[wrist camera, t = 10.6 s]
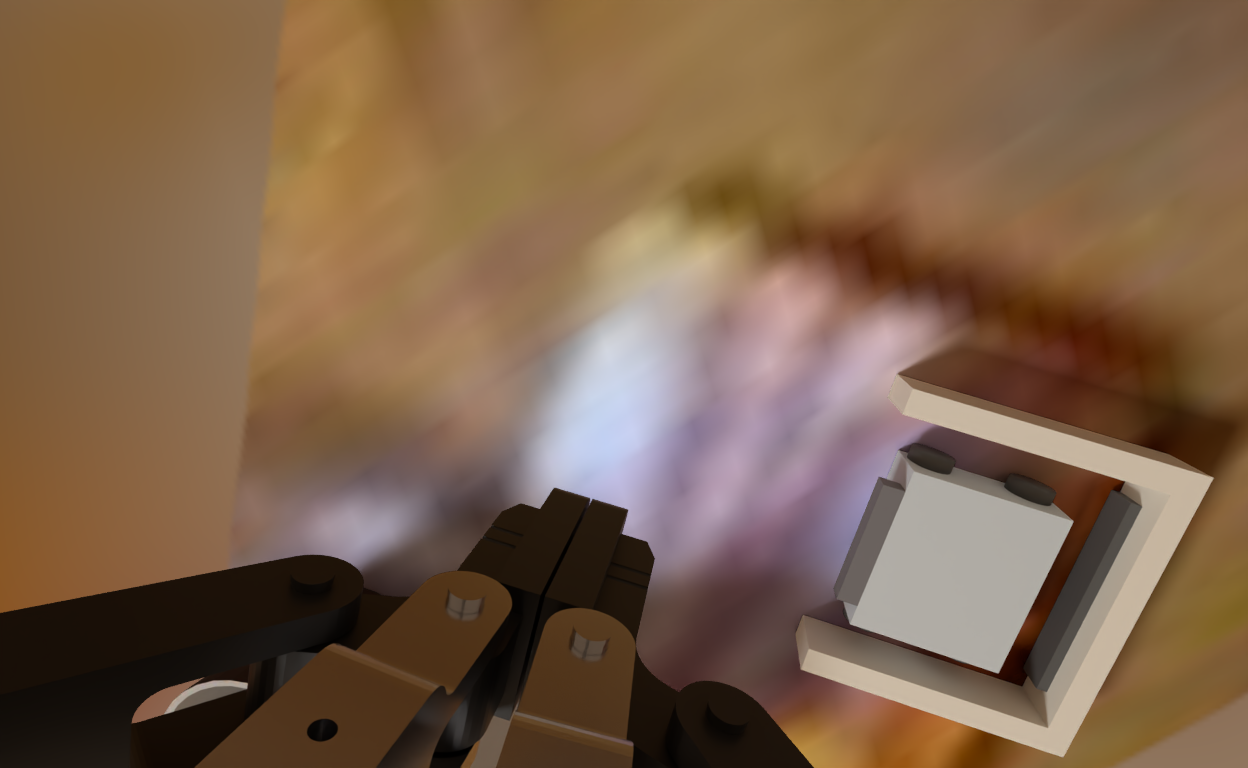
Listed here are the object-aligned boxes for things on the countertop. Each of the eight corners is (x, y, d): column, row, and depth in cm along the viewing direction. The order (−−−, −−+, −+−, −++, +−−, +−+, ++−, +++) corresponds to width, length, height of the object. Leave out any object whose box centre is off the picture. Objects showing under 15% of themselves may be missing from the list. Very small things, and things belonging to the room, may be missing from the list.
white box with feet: (882, 432, 33) (896, 452, 30) (1049, 483, 33) (1080, 509, 30) (817, 595, 36) (824, 627, 33) (971, 646, 35) (993, 683, 32)
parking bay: (897, 373, 33) (912, 388, 30) (1169, 454, 31) (1213, 477, 29) (795, 634, 36) (800, 669, 33) (1036, 713, 35) (1063, 757, 32)
